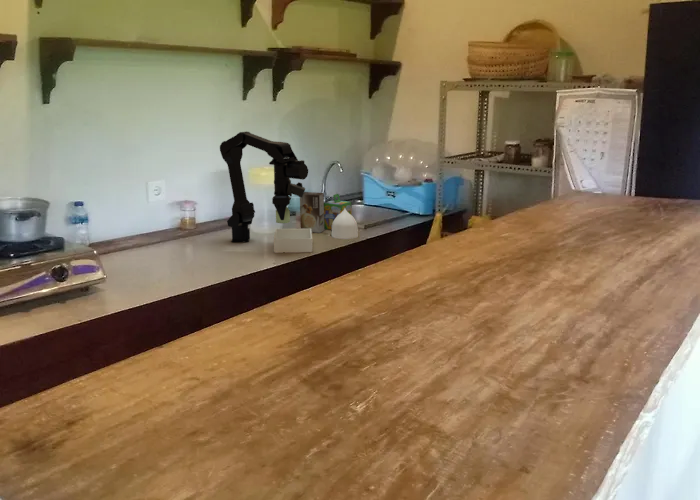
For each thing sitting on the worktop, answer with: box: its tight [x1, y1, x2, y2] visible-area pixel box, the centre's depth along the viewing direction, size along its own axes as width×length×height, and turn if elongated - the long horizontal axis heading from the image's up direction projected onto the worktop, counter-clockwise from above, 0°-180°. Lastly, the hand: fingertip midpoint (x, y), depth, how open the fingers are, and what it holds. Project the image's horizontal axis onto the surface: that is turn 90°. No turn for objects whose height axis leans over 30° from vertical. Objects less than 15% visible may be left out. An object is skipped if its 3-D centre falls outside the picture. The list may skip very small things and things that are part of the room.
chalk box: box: [324, 193, 353, 231], centre depth 291 cm, size 9×9×15 cm
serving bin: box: [273, 228, 313, 254], centre depth 261 cm, size 14×17×5 cm
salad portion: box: [275, 206, 291, 224], centre depth 255 cm, size 5×5×6 cm
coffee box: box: [299, 191, 326, 234], centre depth 286 cm, size 9×6×16 cm
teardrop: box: [331, 208, 359, 240], centre depth 278 cm, size 11×11×12 cm
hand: (282, 218), depth 255 cm, fingers closed on salad portion, 5 cm apart
